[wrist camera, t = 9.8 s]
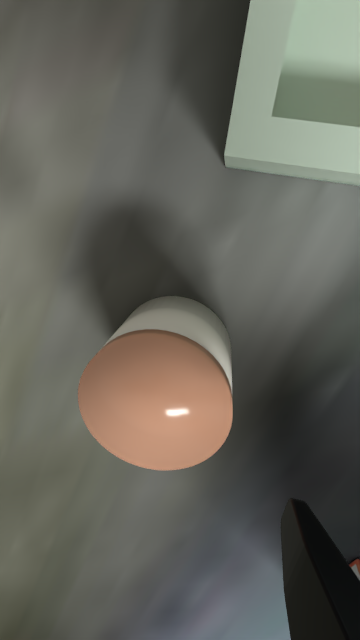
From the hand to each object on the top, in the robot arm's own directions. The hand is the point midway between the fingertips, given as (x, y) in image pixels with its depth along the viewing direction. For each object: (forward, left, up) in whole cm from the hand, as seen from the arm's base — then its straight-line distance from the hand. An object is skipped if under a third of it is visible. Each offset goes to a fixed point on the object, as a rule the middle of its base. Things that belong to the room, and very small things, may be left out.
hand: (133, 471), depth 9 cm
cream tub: (0, 0, -8) cm, 8 cm away
